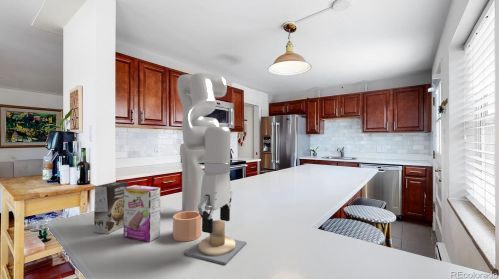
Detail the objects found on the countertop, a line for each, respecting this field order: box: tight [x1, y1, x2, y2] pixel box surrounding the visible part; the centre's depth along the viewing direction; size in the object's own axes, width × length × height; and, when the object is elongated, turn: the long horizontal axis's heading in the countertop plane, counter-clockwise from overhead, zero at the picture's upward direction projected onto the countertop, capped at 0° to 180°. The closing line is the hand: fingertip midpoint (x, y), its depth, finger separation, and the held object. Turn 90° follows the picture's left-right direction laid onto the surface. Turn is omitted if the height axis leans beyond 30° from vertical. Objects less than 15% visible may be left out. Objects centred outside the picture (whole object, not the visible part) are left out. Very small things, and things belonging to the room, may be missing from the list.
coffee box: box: [93, 181, 129, 235], centre depth 82 cm, size 9×6×16 cm
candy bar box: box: [123, 184, 161, 243], centre depth 74 cm, size 11×5×16 cm, turn 71°
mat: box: [184, 235, 247, 266], centre depth 66 cm, size 13×13×1 cm
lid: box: [198, 219, 235, 256], centre depth 66 cm, size 11×11×7 cm
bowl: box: [172, 211, 202, 243], centre depth 76 cm, size 9×9×7 cm
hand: (216, 225), depth 67 cm, fingers open, 9 cm apart
